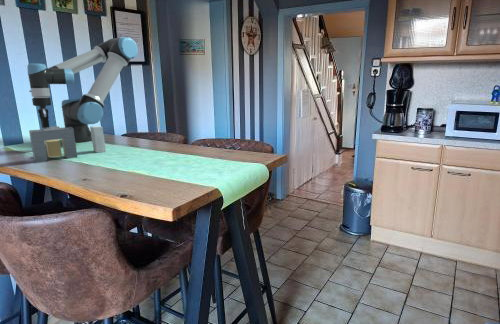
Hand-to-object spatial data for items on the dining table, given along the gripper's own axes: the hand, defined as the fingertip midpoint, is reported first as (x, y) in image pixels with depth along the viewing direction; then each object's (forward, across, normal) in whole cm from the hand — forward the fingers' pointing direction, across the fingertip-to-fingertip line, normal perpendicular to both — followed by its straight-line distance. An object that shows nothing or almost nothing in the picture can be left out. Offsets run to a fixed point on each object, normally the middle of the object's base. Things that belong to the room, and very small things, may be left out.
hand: (48, 145), depth 166 cm
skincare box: (+2, +20, +19) cm, 27 cm away
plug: (+2, +11, +1) cm, 11 cm away
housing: (+2, +24, 0) cm, 24 cm away
